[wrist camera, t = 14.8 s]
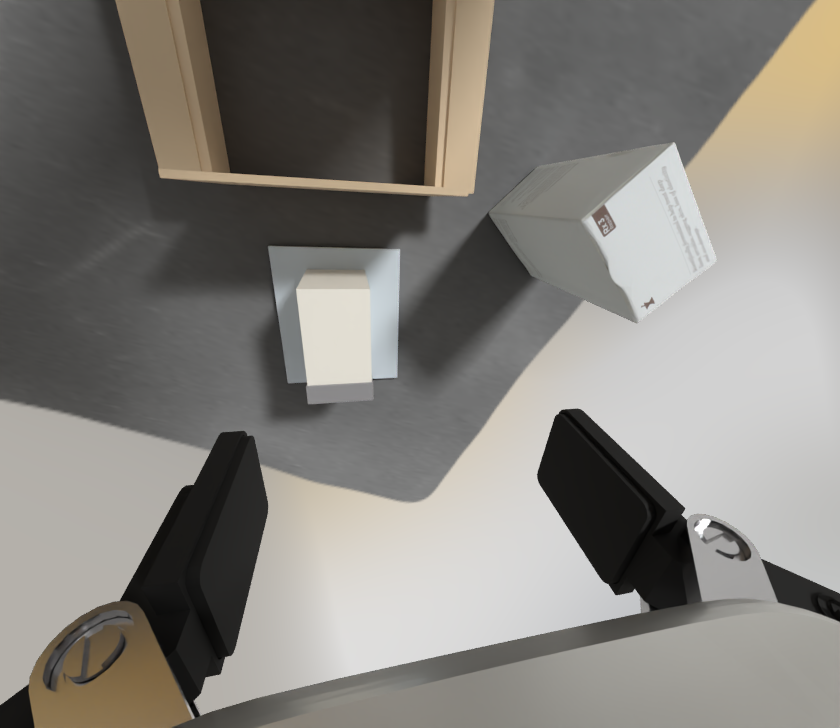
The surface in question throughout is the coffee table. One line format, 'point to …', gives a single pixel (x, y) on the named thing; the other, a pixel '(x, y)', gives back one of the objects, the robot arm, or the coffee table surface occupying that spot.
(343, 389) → the box
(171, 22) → the carton
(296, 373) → the felt mat
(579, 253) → the skincare box
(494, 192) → the coffee table surface
